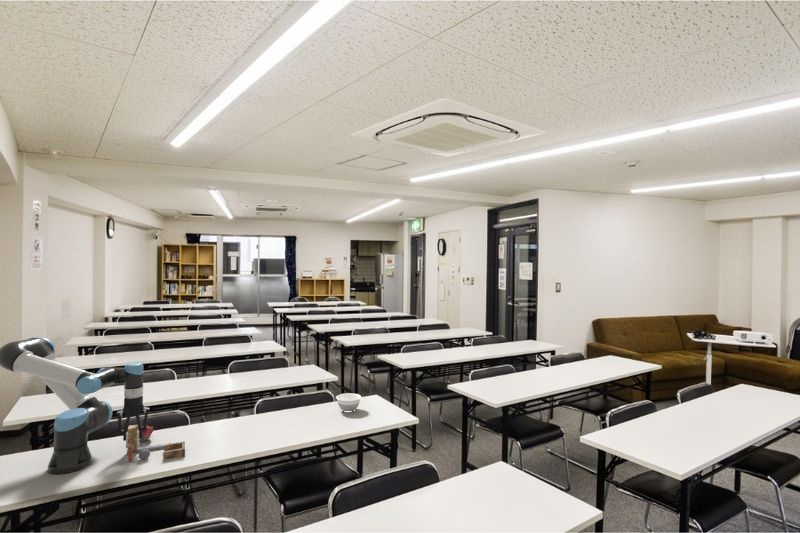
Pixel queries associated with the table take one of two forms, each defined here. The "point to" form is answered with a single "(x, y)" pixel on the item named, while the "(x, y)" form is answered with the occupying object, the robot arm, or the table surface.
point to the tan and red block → (132, 441)
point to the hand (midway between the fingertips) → (132, 446)
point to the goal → (174, 450)
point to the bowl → (348, 401)
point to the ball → (144, 454)
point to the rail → (150, 448)
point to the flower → (146, 433)
